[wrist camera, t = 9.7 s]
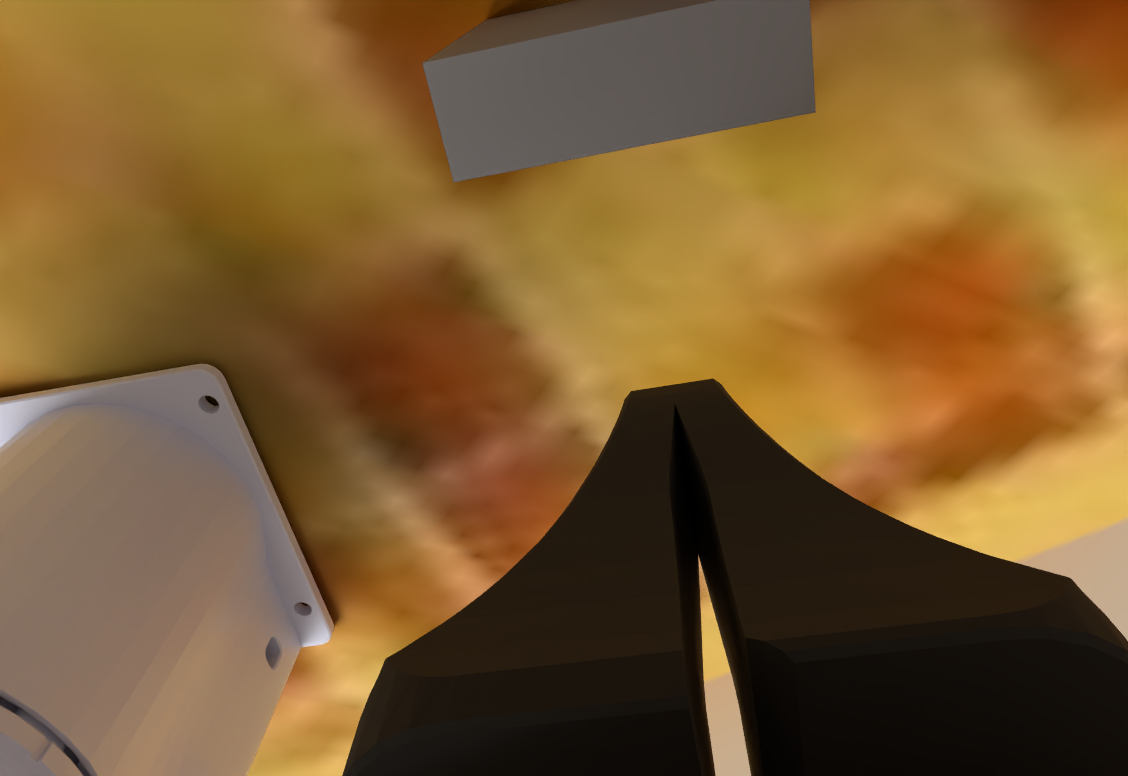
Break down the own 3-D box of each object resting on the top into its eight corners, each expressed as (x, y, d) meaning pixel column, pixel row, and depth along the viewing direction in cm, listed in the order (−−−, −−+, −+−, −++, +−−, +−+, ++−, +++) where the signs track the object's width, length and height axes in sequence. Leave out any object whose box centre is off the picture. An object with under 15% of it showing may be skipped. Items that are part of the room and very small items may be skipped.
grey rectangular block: (737, 51, 17) (814, 112, 11) (503, 99, 18) (453, 181, 12) (729, -33, 16) (808, -20, 10) (485, 19, 17) (421, 62, 11)
